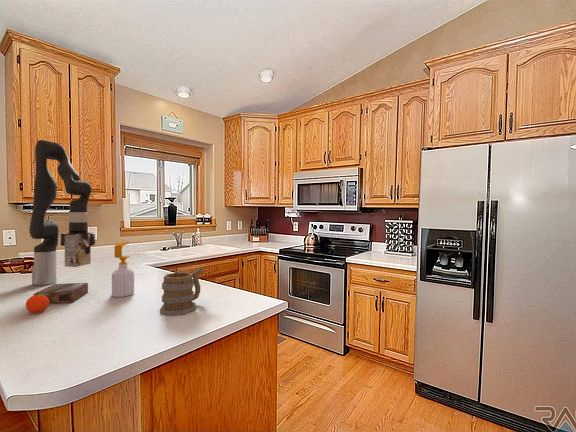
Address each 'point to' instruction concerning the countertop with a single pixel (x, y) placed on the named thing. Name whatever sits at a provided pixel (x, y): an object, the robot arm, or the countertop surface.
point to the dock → (64, 292)
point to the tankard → (180, 292)
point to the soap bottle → (122, 275)
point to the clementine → (37, 303)
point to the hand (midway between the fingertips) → (78, 254)
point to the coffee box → (76, 250)
